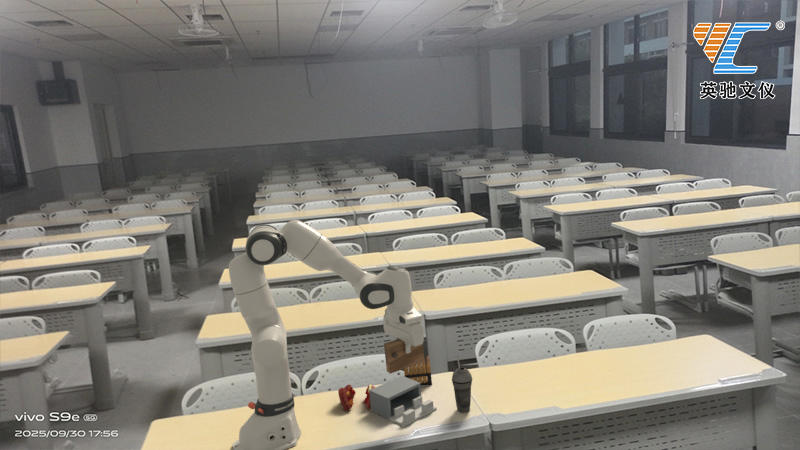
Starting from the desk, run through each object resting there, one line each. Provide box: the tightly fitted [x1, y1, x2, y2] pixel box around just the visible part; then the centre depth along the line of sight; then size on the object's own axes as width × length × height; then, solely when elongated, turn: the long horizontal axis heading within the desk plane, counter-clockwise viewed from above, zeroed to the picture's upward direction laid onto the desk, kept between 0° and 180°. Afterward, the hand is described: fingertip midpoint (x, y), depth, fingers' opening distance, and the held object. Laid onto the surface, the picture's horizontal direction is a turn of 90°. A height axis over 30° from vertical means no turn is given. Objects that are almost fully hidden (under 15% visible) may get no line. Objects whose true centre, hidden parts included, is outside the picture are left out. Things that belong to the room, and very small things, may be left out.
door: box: [383, 339, 425, 374], centre depth 203 cm, size 4×14×10 cm, turn 123°
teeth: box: [338, 383, 376, 412], centre depth 219 cm, size 10×8×15 cm
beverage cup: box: [451, 355, 473, 414], centre depth 208 cm, size 7×7×20 cm
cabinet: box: [369, 375, 437, 427], centre depth 212 cm, size 16×18×8 cm
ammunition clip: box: [403, 355, 433, 387], centre depth 232 cm, size 11×2×12 cm, turn 96°
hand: (404, 351), depth 204 cm, fingers closed on door, 2 cm apart
